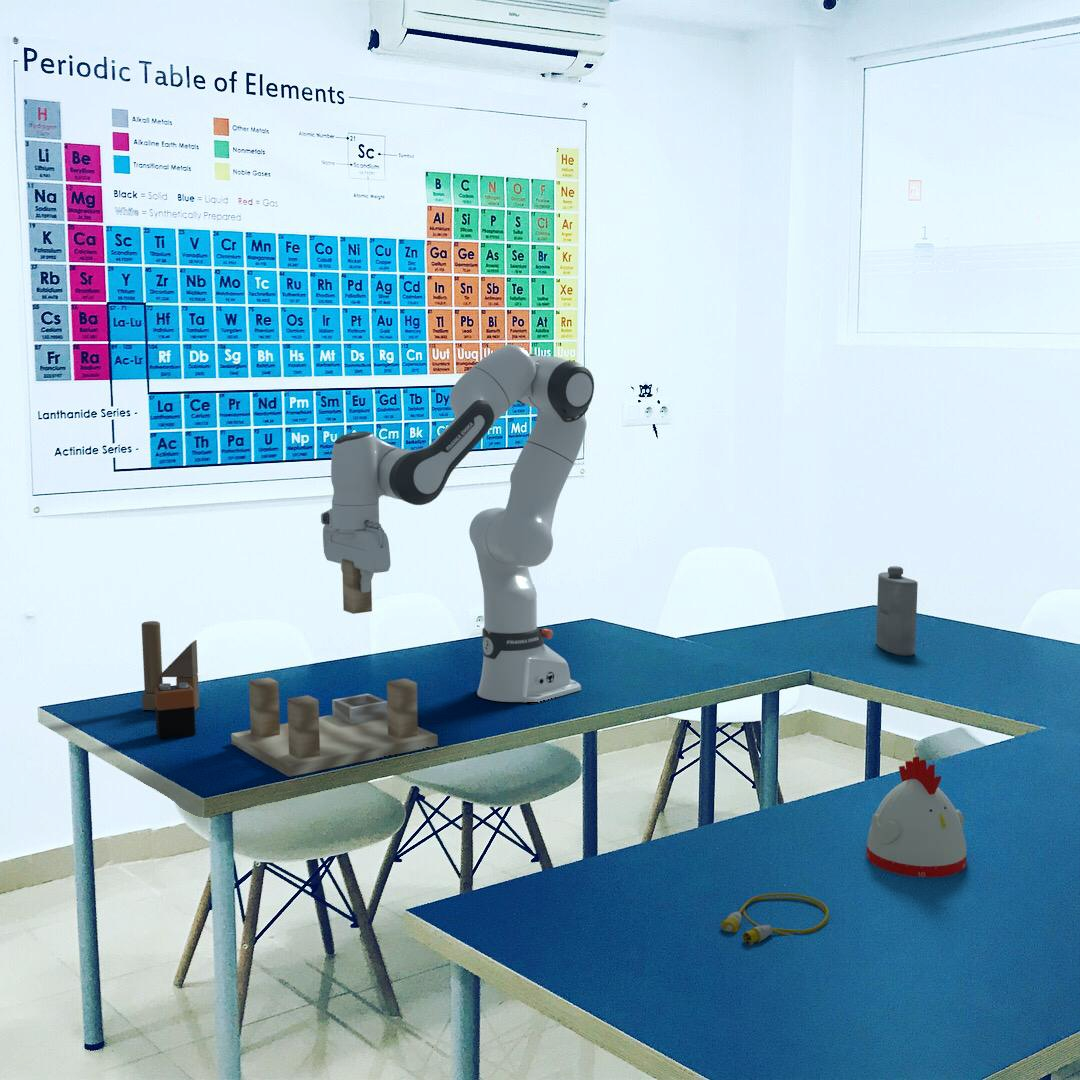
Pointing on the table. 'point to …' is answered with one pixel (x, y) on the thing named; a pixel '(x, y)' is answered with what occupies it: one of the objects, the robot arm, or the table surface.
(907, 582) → the flask
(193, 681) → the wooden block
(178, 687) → the battery
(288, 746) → the stone peg stand
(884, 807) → the kitchen timer
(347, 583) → the oak leg
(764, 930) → the extension cord
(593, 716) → the table surface
